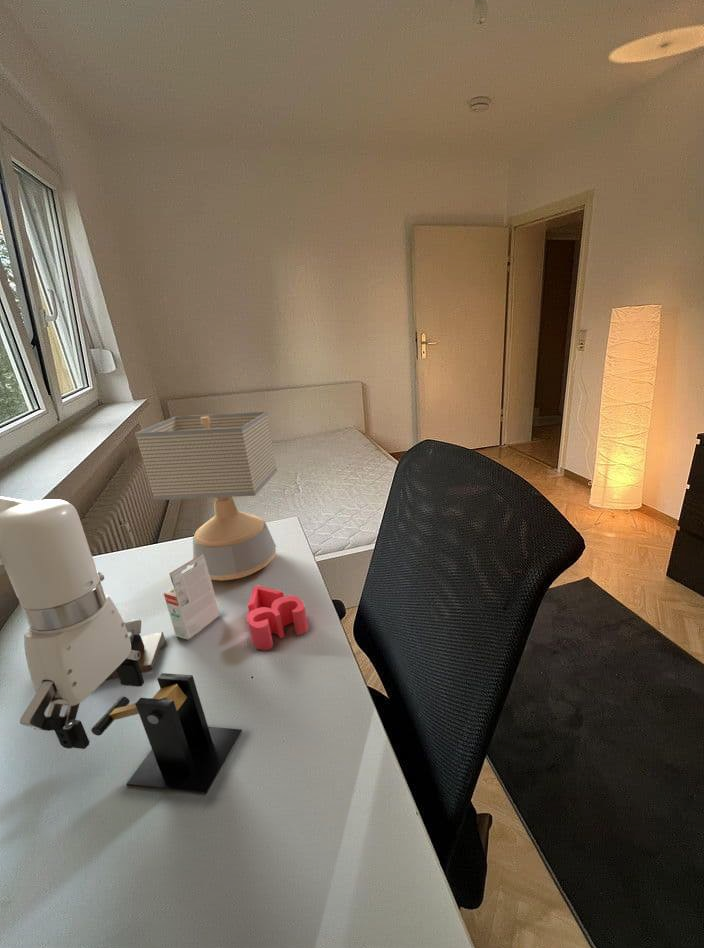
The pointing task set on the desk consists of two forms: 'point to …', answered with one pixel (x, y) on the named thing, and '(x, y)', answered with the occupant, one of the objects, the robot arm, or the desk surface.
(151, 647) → the button block
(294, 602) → the letters
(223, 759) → the switch bracket
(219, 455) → the desk lamp
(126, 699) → the switch lever
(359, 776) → the desk surface
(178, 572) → the ink box
